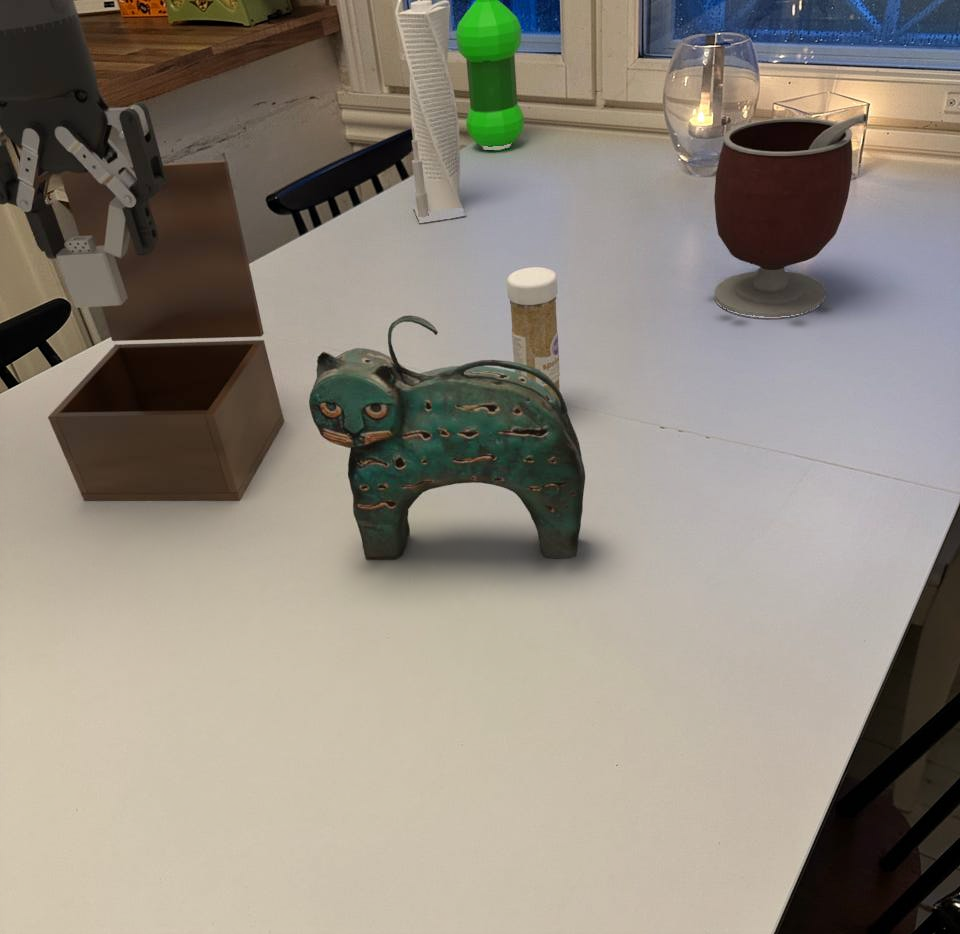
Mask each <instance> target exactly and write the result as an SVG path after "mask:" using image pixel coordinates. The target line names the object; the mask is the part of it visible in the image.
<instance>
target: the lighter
mask: <svg viewBox="0 0 960 934" xmlns="http://www.w3.org/2000/svg"><path fill="white" fill-rule="evenodd" d="M124 207H125V205H124V204H123V203H122V202H121V201H120V200H119V199H118V198H117V197H115V198H114V199H113V200H112V201H111V202H110V204H109V212H108V220H107V229H106V238H105V246H96V245H95V242H94V239H93V236H92V235H91V236H79V235H78V236H71V237H69V239H66V240H65V242H64V245H65V247H66V248H64V249H62V250H61V251H60V252H59V253H58V254H56V258H57V259H56V260H57V263H58V265H59V268H60V271H61V273H62V277H63V279H64V281H65V285H66V287H67V290H68V292H69V295H70V298H71V300H72V303H73V306H74V308H77V309H80V308H81V309H82V308H98V307H101V306H116V305H122V304H123V303H124V302H125V300H126V299H127V298H128V297H127V294H126V291H125V287H124V284H123V281H122V278H121V275H120V272H119V269H118V266H117V263H116V260H115V257H114V256H116V257H118V258H122V257H123V256H124V255H125V254H126V252H127V250H128V244H129V236H130V232H129V229H128V226H127V223H126V220H125V216H124V213H123V210H122V209H123V208H124Z"/></svg>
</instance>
